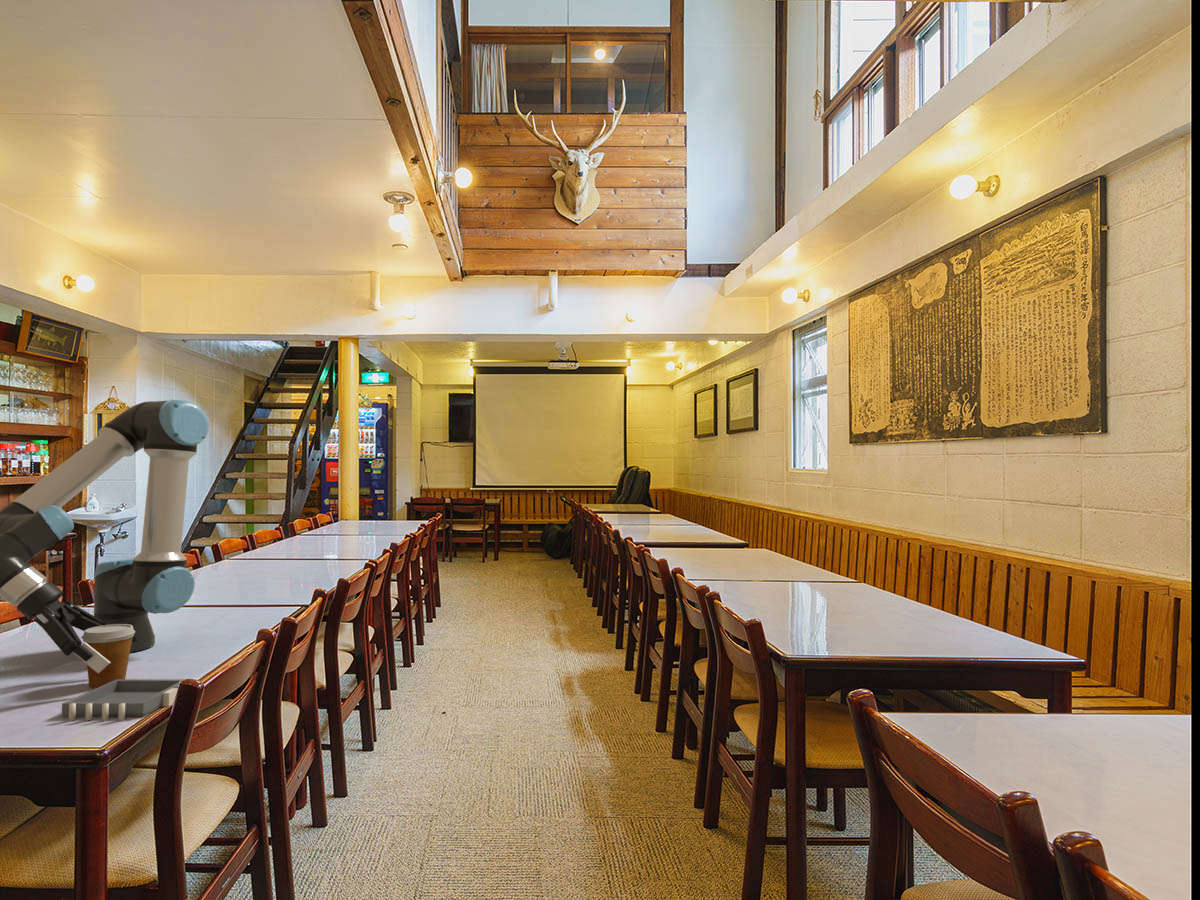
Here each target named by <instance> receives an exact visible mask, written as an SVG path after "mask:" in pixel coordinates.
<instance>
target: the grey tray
mask: <svg viewBox="0 0 1200 900" xmlns="http://www.w3.org/2000/svg"><path fill="white" fill-rule="evenodd" d="M185 679H186V678H185ZM185 679H184V678H182V679H180V678H179V679H175V678H174V679H171V678H169V679H167V678H166V679H165V678H164V679H162V678H161V679H159V678H158V679H157V678H155V679H154V678H153V679H152V678H151V679H149V678H145V679H144V678H143V679H137V678H136V679H135V678H134V679H129V678H125V679H116V680H114V681H112V682H109V683H107V684H105V685H103V686H100V687H98V688H93V689H92V690H89V691H87V692H85V693H82V694H81V695H78V696H76V697H74V698H71V699H69V700H66V701H65V702H62V703H61V718H62V717H69V718H68V722H73V721H72V720H75V721H76V718H75V717H85V718H84V721H85V720H86V721H85V722H89V721H88V720H91V721H92V720H93V718H101V722H106V721H105V720H107V721H109V718H117V721H118V722H123V720H124V721H125V720H126V718H145V717H146V716H148V715H150V714H151V713H153V711H154V712H156V711H157V710H159V709H161V708H162V707H161V706H163V707H170V706H172V705H174V704H173V701H174V698H175V696H176V693H177V690H178V685H179V682H180V681H181V680H185ZM160 707H161V708H160ZM158 708H159V709H158ZM156 709H157V710H156Z"/></svg>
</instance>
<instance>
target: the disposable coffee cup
mask: <svg viewBox="0 0 1200 900" xmlns="http://www.w3.org/2000/svg"><path fill="white" fill-rule="evenodd" d="M134 633H135V631H134V629H133V626H132V625H129V624H112V625H103V626H97V627H92V628H89V629H86V630H85V631H83V634H82V636H81V639H82V643H84V642H86V643H87V644H88V645H90V646H91V647H92V648H93V649H95V650H96V651H97V652H98V653H100V654H101V655H102V656H103V657H105V658H106V659H107V660H108V661H110V662H111V663H109V664H108V665H107V666H106V667H105V668H104V669H103V670H102V671H101V672H99V673H97V672H96V671H95V670H93V669H92V668H91V667H90V666H88V665H87V664H86V669H87V678H88V685H89V686H88V687H89V688H91V689H96V688H98V687H100V686H103V685H105V684H107V683H109V682H112V681H114V680H116V679H126V678H127V677H126V675H127V671H128V665H129V659H130V654H131V653H130V649H131V643H132V637H133V636H134Z"/></svg>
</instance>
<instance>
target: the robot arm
mask: <svg viewBox="0 0 1200 900" xmlns="http://www.w3.org/2000/svg"><path fill="white" fill-rule="evenodd" d="M208 420H209V419H208V417H207V415H206V413H205V412H204V411H203V410H202V409H201V407H200V406H199V405H198V404H196V403H194V402H192V401H189V400H181V399H180V400H179V399H170V400H155V401H154V400H153V401H143V402H140V403H137V404H134V405H132V406H131V407H129V408H127V409H126V410H124V411H123V412H121V413H119V414H118V415H117V416H115V417H114V418H113V419H111V420H110V421H109V422H107V423H106V424H105V425H104V426H102V427H101V428H99V429H98V436H96V437H95V438H94V439H92V440H91V441H90V442H88V443H87V444H86V445H84V446H83V447H82V448H80V449H79V450H78V451H77V452H76V453H75V452H74V454H72V456H70V457H69V458H68V459H66V460H65V461H64V462H62V463H61V464H59V465H58V466H57V467H56V468H55V469H53V470H51V472H49V473H48V474H47V475H45V476H44V477H42V478H41V479H40V480H38V482H36V483H35V484H33V485H32V486H31V487H29V488H28V489H27V490H26V491H24V492H22V494H20V495H19V496H18V497H17V498H15V499H14V500H13V501H12V502H10V503H9V504H7V505H6V506H4V507H3V508H2V509H0V601H1V602H7V603H9V605H11V606H16V610H17V611H18V612H19V613H21V614H22V615H23V617H26V618H27V619H29V620H32V619H34V620H33V621H34V622H36V623H37V625H39V626H40V627H41V628H42V629H43V631H44V632H45V633H46V634H47V636H49V638H50V640H52V641H53V642H54V644H55V645H56V646H57V647H58V648H59V650H60V651H61V652H63V655H65V656H68V657H69V656H70V655H71V654H73V655H74V656H76V657H77V658H78V659H80V660H81V661H82V662H83V663H84V664H85V665H86V666H87V665H88V666H90V667H91V668H92V669H93V670H95V671H96V672H97V673H99V672H101V671H102V670H103V669H104V668H105V667H106V666H107V665H108V664H109V663H111V662H110V661H108V660H107V659H106V658H105V657H103V656H102V655H101V654H100V653H98V652H97V651H96V650H95V649H93V648H92V647H91V646H90V645H88V644H87V643H86V642H83V641H82V640H81V639H80V637H79V635H78V634H77V632H76V630H75V629H74V628H76V629H78V630H80V631H81V632H82V631H83V632H84V631H85V630H86V629H89V628H92V627H97V626H103V625H112V624H129V625H132V626H133V629H134V631H135V633H134V636H133V637H132V643H131V649H130V652H131V653H134V652H133V651H137V652H140V651H139V650H141V651H144V650H143V649H145V650H147V649H146V648H148V649H150V648H152V647H154V646H155V645H156V644H155V643H156V636H155V633H154V630H153V627H152V625H151V624H152V623H151V620H150V618H149V613H150V614H153V615H156V614H169V613H173V612H176V611H178V610H180V609H182V608H183V607H184V605H185V604H187V603H188V602H189V601H190V599H191V597H192V595H193V593H194V590H195V586H196V585H195V582H196V581H195V577H194V575H193V574H192V573H191V571H190V570H188V569H187V563H188V561H187V560H188V558H187V557H186V556H185V555H184V554H183V553H182V541H183V531H184V519H185V509H186V497H187V489H188V488H187V487H188V477H189V476H188V475H189V463H190V459H192V458H193V457H195V456H196V455H197V450H198V445H199V444H200V443H202V442H203V441H204V439H206V438H207V435H208V433H209V427H210V426H209V421H208ZM142 449H143V452H145V454H146V455H147V456H148V457H149V466H148V477H147V487H146V496H145V497H146V498H145V508H144V516H143V518H144V519H143V527H142V535H141V536H142V539H141V549H140V552H139V553H138V554H137V555H136V556H135V557H133V558H132V559H131V558H130V559H122V560H120V559H119V560H112V561H104V562H100V563H98V564H97V565H96V567H95V571H94V577H93V580H94V593H93V594H94V595H93V596H94V600H93V614H91V613H90V612H88V611H86V610H84V609H83V608H80V607H79V606H77V605H76V604H75V603H73V602H72V601H70V600H68V599H66V600H65V601H64V602H61V601H60V598H61V597H62V596H63V595H64V591H63V590H62V589H61V588H60V587H58V586H57V585H55V584H54V583H53V582H49V581H48V577H46V576H45V575H44V574H42V573H41V572H40V571H39V570H38V569H37V568H35V567H34V566H32V565H31V564H30V563H29V561H31V560H32V559H33V558H35V557H36V556H38V555H39V554H42V552H44V551H45V550H47V549H49V548H50V547H51V546H53V545H55V544H56V543H57V542H59V541H61V540H62V539H63V538H65V537H66V536H67V535H69V533H72V531H73V530H74V528H75V525H74V521H73V519H72V518H71V516H70V515H69V514H68V513H67V512H66V511H65V510H64V509H63V508H62V507H63V506H65V505H67V503H68V502H70V501H71V500H72V499H73V498H75V497H76V496H78V494H80V493H81V492H82V491H84V489H86V488H87V487H88V486H89V485H91V484H92V483H93V482H94V481H96V480H97V479H98V478H99V477H101V476H102V475H103V474H104V473H105V472H107V471H108V470H109V469H110V468H112V466H113V467H114V465H115V464H117V462H119V461H120V460H122V459H123V458H124V457H125V458H127V457H130V458H131V457H132V456H133V455H134V454H135V453H137V452H139V451H140V450H142ZM154 644H155V645H154ZM153 645H154V646H153ZM151 646H152V647H151ZM149 647H150V648H149Z"/></svg>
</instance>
